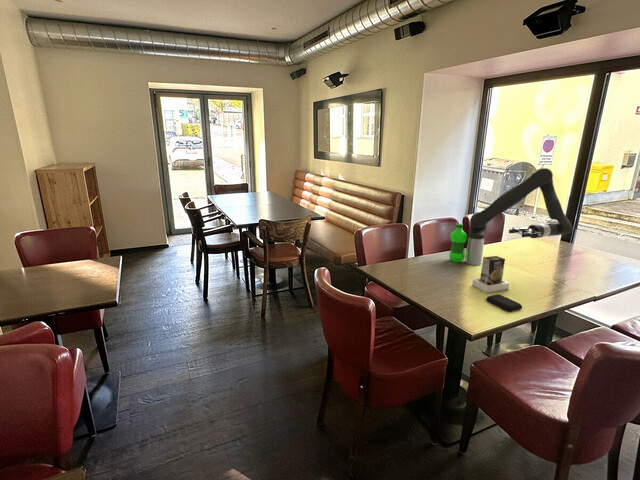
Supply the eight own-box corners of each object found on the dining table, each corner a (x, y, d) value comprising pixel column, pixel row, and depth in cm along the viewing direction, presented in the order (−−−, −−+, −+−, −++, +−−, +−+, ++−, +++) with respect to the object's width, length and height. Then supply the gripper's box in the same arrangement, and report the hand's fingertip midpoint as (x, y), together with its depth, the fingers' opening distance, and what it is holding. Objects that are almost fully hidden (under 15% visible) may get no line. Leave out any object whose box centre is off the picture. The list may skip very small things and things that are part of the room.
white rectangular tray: (472, 285, 193) (472, 279, 192) (492, 282, 197) (493, 275, 196) (487, 293, 183) (488, 286, 181) (508, 290, 187) (509, 283, 186)
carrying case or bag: (525, 309, 166) (499, 297, 179) (526, 303, 165) (500, 292, 178) (509, 314, 162) (483, 301, 175) (510, 308, 161) (484, 295, 174)
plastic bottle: (467, 263, 228) (471, 226, 221) (450, 263, 228) (454, 226, 222) (461, 258, 238) (465, 222, 231) (445, 258, 238) (449, 222, 231)
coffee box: (487, 289, 185) (491, 260, 181) (479, 284, 191) (482, 256, 187) (501, 287, 188) (505, 258, 183) (492, 283, 194) (496, 255, 189)
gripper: (528, 221, 199) (506, 223, 195) (551, 227, 186) (527, 229, 182) (526, 234, 201) (504, 236, 197) (549, 240, 188) (525, 243, 184)
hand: (515, 233), depth 189 cm, fingers open, 8 cm apart
